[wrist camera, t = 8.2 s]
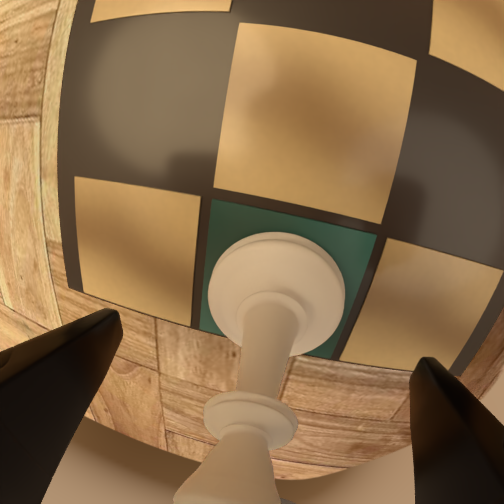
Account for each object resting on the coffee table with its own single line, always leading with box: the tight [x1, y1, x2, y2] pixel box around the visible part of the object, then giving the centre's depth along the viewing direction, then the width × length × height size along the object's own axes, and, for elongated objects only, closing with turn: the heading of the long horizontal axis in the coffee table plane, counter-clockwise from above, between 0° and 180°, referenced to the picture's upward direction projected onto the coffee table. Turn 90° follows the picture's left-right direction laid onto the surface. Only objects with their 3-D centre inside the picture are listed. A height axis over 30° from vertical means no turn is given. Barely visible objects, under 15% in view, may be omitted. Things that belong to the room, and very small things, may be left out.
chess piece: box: [173, 232, 345, 504], centre depth 7 cm, size 5×5×10 cm
